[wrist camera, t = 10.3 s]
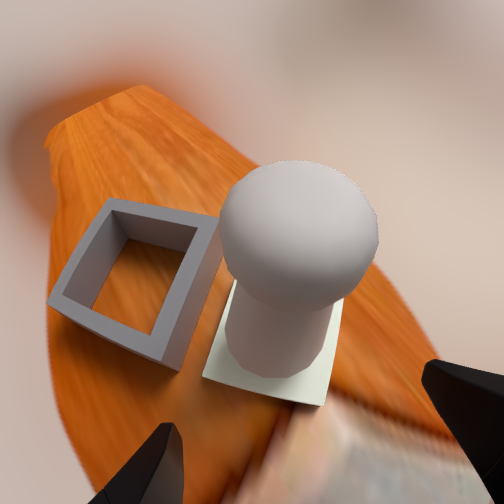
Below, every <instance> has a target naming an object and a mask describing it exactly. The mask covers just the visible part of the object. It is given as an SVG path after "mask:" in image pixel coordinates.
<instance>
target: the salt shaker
mask: <svg viewBox="0 0 504 504" xmlns="http://www.w3.org/2000/svg"><path fill="white" fill-rule="evenodd" d="M219 233H220V238H221V243H222V248H223V254H224V258H225V261H226V265H227V268H228V270H229V272H230V273H231V274H232V275H233V277H234V278H235V279H236V280H237V283H236V286H235V290H234V294H233V298H232V301H231V305H230V309H229V313H228V316H227V320H226V324H225V328H224V330H225V335H226V339H227V344H228V349H229V351H230V352H231V354H232V355H233V356H234V358H235V359H236V360H237V362H238V363H239V364H240V366H241V367H242V368H243V369H246V370H248V371H250V372H252V373H254V374H256V375H259V376H261V377H263V378H289V377H291V376H293V375H295V374H297V373H299V372H300V371H302V370H304V369H306V368H308V367H309V366H310V365H311V364H312V362H313V361H314V360H315V358H316V357H317V356H318V354H319V353H320V351H321V350H322V348H323V344H324V341H325V337H326V334H327V330H328V326H329V322H330V318H331V314H332V310H333V306H334V303H335V302H337V301H339V300H341V299H342V298H344V297H346V296H348V295H349V294H350V293H351V292H352V291H353V290H354V289H355V287H356V286H357V285H358V284H359V282H360V280H361V279H362V277H363V276H364V274H365V272H366V271H367V269H368V267H369V266H370V264H371V262H372V261H373V259H374V256H375V253H376V250H377V246H378V244H379V241H378V226H377V215H376V213H375V212H374V210H373V208H372V206H371V205H370V203H369V201H368V200H367V198H366V196H365V195H364V193H363V191H362V190H361V189H360V188H359V186H358V185H356V184H355V183H354V182H352V181H351V180H350V179H348V178H347V177H346V176H344V175H343V174H342V173H340V172H339V171H337V170H335V169H333V168H330V167H327V166H324V165H321V164H318V163H315V162H312V161H294V160H284V161H280V162H276V163H273V164H269V165H265V166H262V167H259V168H257V169H254V170H252V171H251V172H250V173H248V174H247V175H246V176H245V177H243V178H242V179H241V180H240V181H238V182H237V183H236V184H235V185H233V186H232V187H231V189H230V191H229V193H228V195H227V198H226V200H225V202H224V204H223V207H222V209H221V211H220V219H219Z"/></svg>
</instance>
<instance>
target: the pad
mask: <svg viewBox="0 0 504 504" xmlns="http://www.w3.org/2000/svg"><path fill="white" fill-rule="evenodd" d="M236 283H237V280H236V279H235V281H234V284H233V287H232V290H231V292H230V295H229V298H228V301H227V304H226V307H225V310H224V313H223V316H222V318H221V321H220V324H219V327H218V330H217V333H216V336H215V339H214V342H213V345H212V347H211V350H210V353H209V356H208V359H207V362H206V365H205V368H204V371H203V374H202V376H203V377H204V378H207V379H210V380H213V381H216V382H220V383H223V384H226V385H229V386H233V387H236V388H240V389H244V390H247V391H251V392H255V393H259V394H263V395H267V396H271V397H275V398H280V399H284V400H289V401H294V402H299V403H304V404H310V405H316V406H324V402H325V398H326V394H327V389H328V385H329V380H330V376H331V371H332V366H333V361H334V356H335V350H336V345H337V339H338V333H339V327H340V321H341V314H342V307H343V300H344V298H342V299H341V300H339V301H337V302H335V303H334V306H333V310H332V314H331V318H330V322H329V326H328V330H327V334H326V337H325V341H324V344H323V348H322V350H321V351H320V353H319V354H318V356H317V357H316V358H315V360H314V361H313V362H312V364H311V365H310V366H309V367H308V368H306V369H304V370H302V371H300V372H299V373H297V374H295V375H293V376H291V377H289V378H263V377H261V376H259V375H256V374H254V373H252V372H250V371H248V370H246V369H243V368H242V367H241V366H240V364H239V363H238V362H237V360H236V359H235V358H234V356H233V355H232V354H231V352H230V351H229V349H228V344H227V339H226V335H225V330H224V328H225V324H226V320H227V316H228V313H229V309H230V305H231V301H232V298H233V294H234V290H235V286H236Z"/></svg>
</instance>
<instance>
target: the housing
mask: <svg viewBox="0 0 504 504" xmlns="http://www.w3.org/2000/svg"><path fill="white" fill-rule="evenodd" d="M219 219H220V218H218V217H213V216H208V215H203V214H198V213H192V212H187V211H182V210H177V209H171V208H166V207H161V206H155V205H150V204H144V203H139V202H133V201H127V200H121V199H116V198H110V197H109V198H108V200H107V201H106V202H105V204H104V205H103V207H102V208H101V210H100V211H99V212H98V214H97V215H96V217H95V218H94V220H93V221H92V223H91V224H90V226H89V227H88V229H87V231H86V232H85V234H84V235H83V237H82V238H81V240H80V242H79V243H78V245H77V247H76V248H75V250H74V252H73V253H72V255H71V257H70V259H69V260H68V262H67V264H66V266H65V267H64V269H63V271H62V273H61V275H60V277H59V278H58V280H57V282H56V284H55V286H54V288H53V290H52V292H51V294H50V296H49V298H48V300H47V302H46V304H48V305H49V306H50V307H52V308H53V309H55V310H56V311H57V312H59V313H60V314H62V315H63V316H65V317H66V318H68V319H69V320H71V321H72V322H74V323H75V324H77V325H79V326H81V327H83V328H84V329H86V330H88V331H90V332H92V333H94V334H96V335H97V336H99V337H101V338H103V339H105V340H107V341H109V342H111V343H113V344H115V345H118V346H120V347H122V348H124V349H126V350H128V351H130V352H133V353H135V354H137V355H139V356H142V357H144V358H146V359H149V360H151V361H153V362H156V363H158V364H161V365H163V366H166V367H168V368H171V369H173V370H176V371H179V372H180V369H181V366H182V363H183V360H184V358H185V355H186V352H187V349H188V347H189V344H190V341H191V338H192V336H193V333H194V330H195V328H196V325H197V322H198V320H199V317H200V314H201V312H202V309H203V306H204V304H205V301H206V298H207V296H208V293H209V291H210V288H211V285H212V283H213V280H214V278H215V275H216V272H217V270H218V267H219V265H220V262H221V260H222V257H223V255H224V254H223V248H222V243H221V238H220V233H219ZM128 238H129V239H133V240H137V241H141V242H145V243H148V244H152V245H156V246H160V247H164V248H168V249H172V250H176V251H180V252H184V253H186V254H185V257H184V259H183V261H182V263H181V265H180V267H179V270H178V272H177V274H176V276H175V278H174V281H173V283H172V285H171V287H170V290H169V292H168V294H167V296H166V299H165V301H164V303H163V306H162V308H161V310H160V313H159V315H158V318H157V320H156V322H155V325H154V327H153V330H152V332H151V335H147V334H145V333H142V332H140V331H138V330H135V329H133V328H130V327H128V326H126V325H123V324H121V323H119V322H117V321H114V320H112V319H110V318H108V317H106V316H103V315H101V314H99V313H97V312H95V311H93V310H91V308H92V306H93V304H94V302H95V300H96V298H97V296H98V294H99V292H100V290H101V288H102V286H103V284H104V282H105V280H106V278H107V276H108V274H109V272H110V270H111V268H112V267H113V265H114V263H115V261H116V259H117V257H118V256H119V254H120V252H121V250H122V248H123V247H124V245H125V243H126V241H127V240H128Z"/></svg>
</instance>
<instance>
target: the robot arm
mask: <svg viewBox="0 0 504 504" xmlns="http://www.w3.org/2000/svg"><path fill="white" fill-rule="evenodd" d="M421 382H422V385H423V387H424V389H425V390H426V392H427V394H428V396H429V398H430V399H431V401H432V403H433V405H434V407H435V409H436V410H437V412H438V414H439V415H440V417H441V418H442V419H443V421H444V422H445V424H446V425H447V427H448V428H449V430H450V431H451V433H452V434H453V436H454V437H455V439H456V440H457V442H458V443H459V445H460V446H461V448H462V449H463V451H464V452H465V454H466V456H467V457H468V459H469V460H470V462H471V463H472V465H473V467H474V468H475V470H476V472H477V473H478V475H479V477H480V478H481V479H482V482H483V483H484V485H485V487H486V489H487V490H488V492H489V494H490V496H491V497H492V499H493V501H494V503H495V504H504V375H499V374H494V373H490V372H486V371H481V370H477V369H473V368H469V367H465V366H461V365H457V364H453V363H449V362H445V361H442V360H438V359H433V360H430V361H428V362H427V363H426V364H425V366H424V370H423V374H422V378H421ZM183 490H184V467H183V445H182V438H181V436H180V434H179V432H178V430H177V428H176V426H175V424H174V423H172V422H167V423H161V424H160V425H159V426H158V427H157V428H156V430H155V431H154V432H153V433H152V434H151V435H150V436H149V438H148V439H147V440H146V441H145V442H144V443H143V445H142V446H141V447H140V448H139V449H138V450H137V451H136V452H135V454H134V455H133V456H132V457H131V458H130V459H129V460H128V461H127V463H126V464H125V465H124V466H123V467H122V468H121V469H120V470H119V471H118V472H117V474H116V475H115V476H114V477H113V478H112V479H111V480H110V481H109V482H108V483H107V484H106V485H105V487H104V489H102V490H101V491H100V492H99V493H98V494H97V495H96V496H95V497H94V498H93V499H92V500H91V501H90V502H89V503H88V504H183Z"/></svg>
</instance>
